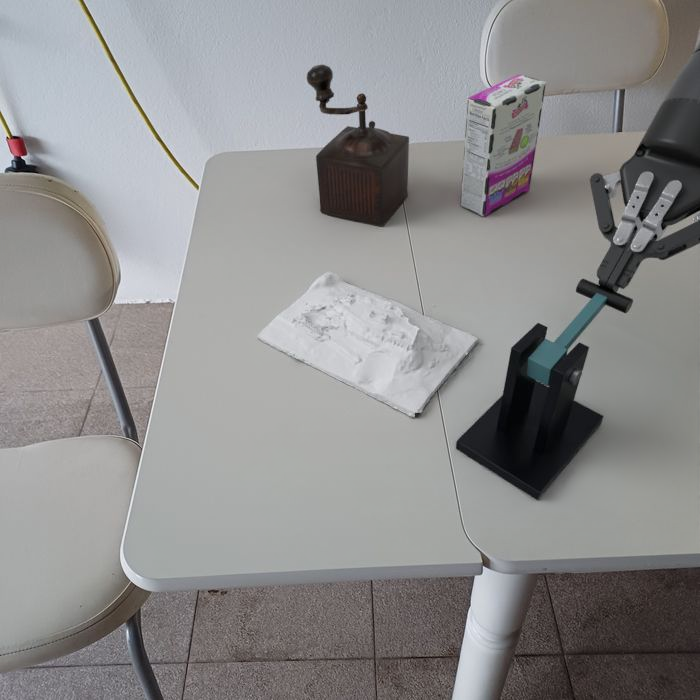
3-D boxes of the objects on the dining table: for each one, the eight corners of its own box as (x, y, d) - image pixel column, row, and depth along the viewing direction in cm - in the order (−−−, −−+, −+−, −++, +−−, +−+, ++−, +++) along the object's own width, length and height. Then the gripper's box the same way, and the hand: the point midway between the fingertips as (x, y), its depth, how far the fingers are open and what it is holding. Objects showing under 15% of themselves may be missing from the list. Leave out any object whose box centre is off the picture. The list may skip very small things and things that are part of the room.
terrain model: (318, 283, 85) (314, 250, 81) (486, 328, 75) (489, 293, 72) (244, 359, 74) (235, 325, 71) (428, 423, 65) (429, 387, 61)
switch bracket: (522, 381, 69) (540, 293, 61) (601, 423, 64) (632, 334, 56) (455, 448, 62) (466, 360, 54) (537, 500, 58) (562, 412, 50)
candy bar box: (503, 180, 101) (518, 72, 90) (530, 191, 98) (549, 81, 87) (456, 206, 96) (466, 95, 85) (483, 218, 93) (497, 105, 82)
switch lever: (581, 290, 63) (585, 271, 61) (630, 310, 61) (635, 292, 59) (512, 368, 58) (513, 350, 56) (562, 394, 56) (565, 377, 54)
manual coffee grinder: (411, 192, 99) (415, 72, 87) (383, 228, 92) (383, 102, 80) (322, 174, 104) (313, 58, 92) (288, 207, 97) (274, 86, 85)
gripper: (627, 79, 59) (534, 251, 61) (784, 117, 52) (673, 309, 54) (637, 116, 65) (553, 271, 67) (779, 154, 58) (680, 325, 60)
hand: (607, 288), depth 60 cm, fingers closed
